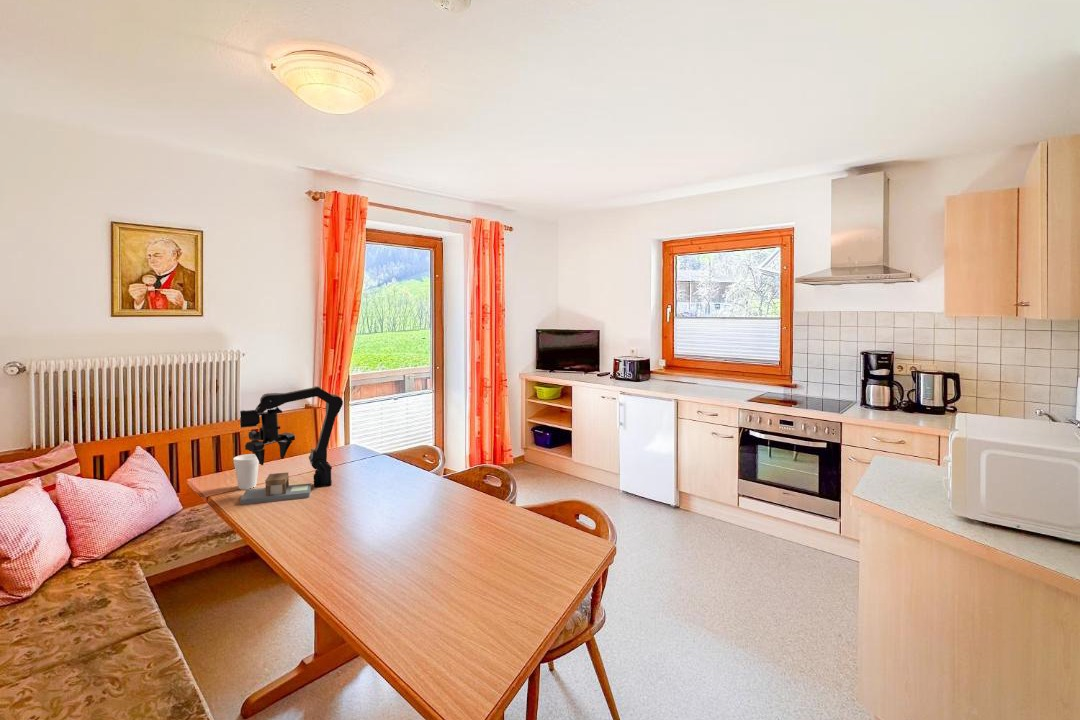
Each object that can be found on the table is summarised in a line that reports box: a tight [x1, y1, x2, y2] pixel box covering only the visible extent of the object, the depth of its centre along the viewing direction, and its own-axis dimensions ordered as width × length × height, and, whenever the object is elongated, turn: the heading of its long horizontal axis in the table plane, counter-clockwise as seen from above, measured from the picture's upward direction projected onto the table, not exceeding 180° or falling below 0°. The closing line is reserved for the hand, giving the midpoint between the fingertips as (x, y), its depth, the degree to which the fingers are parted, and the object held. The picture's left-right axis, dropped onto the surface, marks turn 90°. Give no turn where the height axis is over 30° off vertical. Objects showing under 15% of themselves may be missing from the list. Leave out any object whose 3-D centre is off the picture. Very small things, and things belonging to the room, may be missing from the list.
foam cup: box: [232, 453, 260, 490], centre depth 207 cm, size 10×9×13 cm
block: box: [270, 485, 282, 494], centre depth 197 cm, size 4×4×6 cm
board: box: [240, 483, 313, 506], centre depth 197 cm, size 24×12×2 cm, turn 111°
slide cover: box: [265, 471, 290, 495], centre depth 197 cm, size 7×9×6 cm
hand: (272, 461), depth 200 cm, fingers open, 9 cm apart
